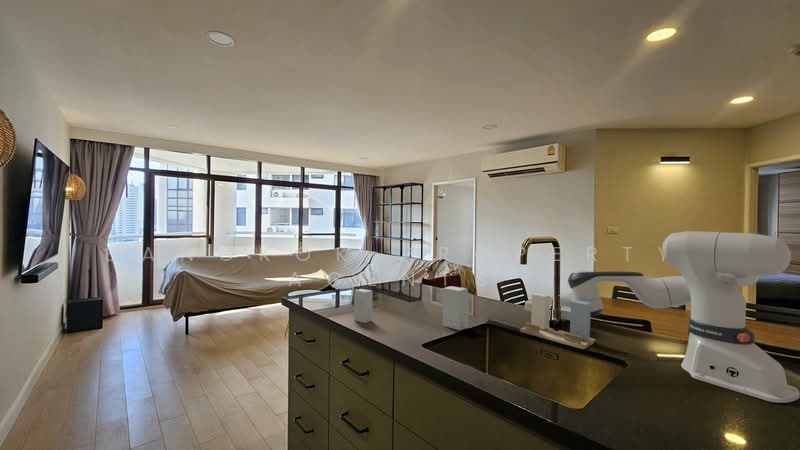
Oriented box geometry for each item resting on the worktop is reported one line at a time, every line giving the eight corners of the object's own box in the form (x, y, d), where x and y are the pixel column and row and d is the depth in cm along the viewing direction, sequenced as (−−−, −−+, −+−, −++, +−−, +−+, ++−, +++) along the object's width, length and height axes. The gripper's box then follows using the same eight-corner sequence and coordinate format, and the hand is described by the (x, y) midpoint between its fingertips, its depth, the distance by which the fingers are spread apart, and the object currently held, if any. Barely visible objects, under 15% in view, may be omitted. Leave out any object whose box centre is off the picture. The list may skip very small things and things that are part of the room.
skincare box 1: (372, 320, 136) (373, 290, 136) (365, 323, 133) (366, 292, 132) (360, 318, 139) (361, 288, 139) (353, 320, 136) (354, 290, 136)
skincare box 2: (468, 328, 130) (469, 288, 130) (458, 331, 126) (460, 290, 126) (450, 322, 136) (451, 285, 136) (440, 325, 132) (442, 286, 132)
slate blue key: (574, 333, 123) (575, 300, 122) (589, 337, 119) (590, 302, 119) (569, 336, 120) (570, 301, 120) (585, 340, 116) (586, 304, 116)
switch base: (533, 326, 135) (533, 317, 135) (595, 342, 119) (595, 332, 118) (519, 331, 128) (520, 322, 128) (583, 349, 111) (584, 338, 111)
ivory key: (535, 324, 133) (537, 293, 133) (548, 327, 129) (550, 295, 129) (530, 326, 130) (532, 294, 130) (544, 329, 127) (545, 296, 126)
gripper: (585, 321, 133) (571, 328, 124) (534, 310, 148) (517, 315, 139) (586, 305, 133) (571, 310, 124) (534, 295, 148) (518, 299, 139)
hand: (542, 313), depth 132 cm, fingers closed
